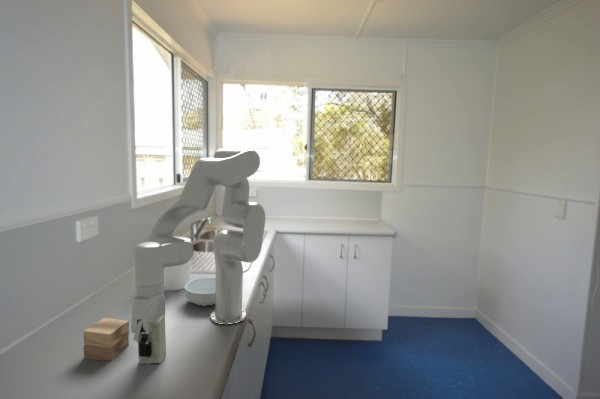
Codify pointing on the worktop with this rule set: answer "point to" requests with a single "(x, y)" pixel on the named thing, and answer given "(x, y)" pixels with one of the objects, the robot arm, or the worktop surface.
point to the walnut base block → (106, 350)
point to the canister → (177, 274)
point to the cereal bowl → (201, 291)
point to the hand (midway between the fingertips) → (150, 349)
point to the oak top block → (106, 332)
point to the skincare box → (156, 343)
